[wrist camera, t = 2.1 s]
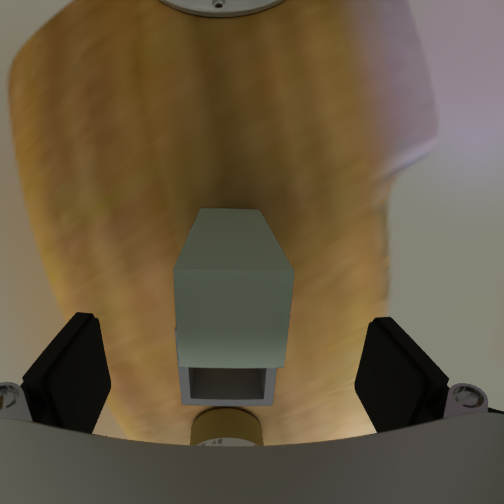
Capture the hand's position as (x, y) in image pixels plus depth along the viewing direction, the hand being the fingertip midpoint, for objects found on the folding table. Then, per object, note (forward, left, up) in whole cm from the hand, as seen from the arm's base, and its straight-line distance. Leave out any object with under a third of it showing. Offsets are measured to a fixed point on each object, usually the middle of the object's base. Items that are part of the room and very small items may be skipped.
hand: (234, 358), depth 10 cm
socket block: (+8, 0, -13) cm, 15 cm away
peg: (-1, 0, -13) cm, 13 cm away
